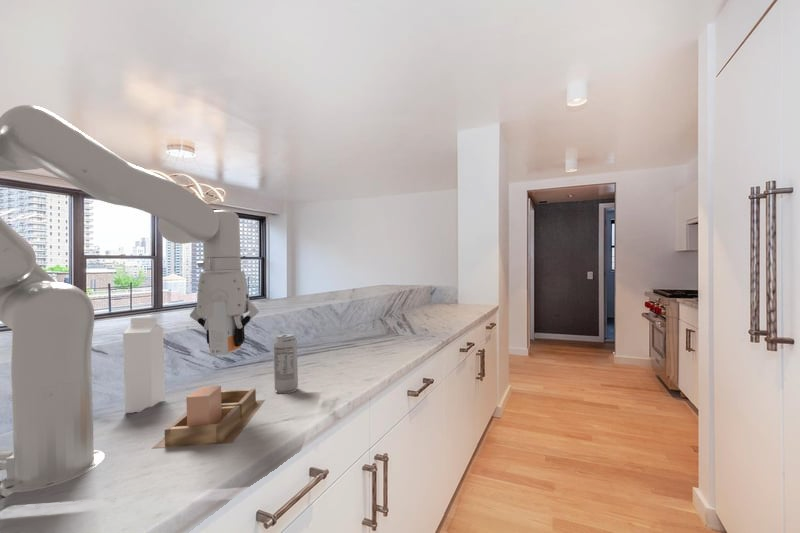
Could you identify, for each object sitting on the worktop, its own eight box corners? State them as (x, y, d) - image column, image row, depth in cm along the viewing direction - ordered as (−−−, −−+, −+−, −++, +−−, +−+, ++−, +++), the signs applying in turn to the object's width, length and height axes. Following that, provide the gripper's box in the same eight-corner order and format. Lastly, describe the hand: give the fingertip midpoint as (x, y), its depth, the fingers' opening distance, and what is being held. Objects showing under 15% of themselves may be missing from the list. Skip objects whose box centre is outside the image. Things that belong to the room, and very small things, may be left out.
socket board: (151, 454, 66) (151, 431, 66) (204, 408, 88) (204, 391, 88) (232, 449, 68) (232, 426, 68) (265, 404, 90) (264, 387, 90)
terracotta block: (187, 439, 69) (186, 397, 69) (201, 426, 75) (200, 387, 75) (209, 438, 70) (208, 395, 70) (221, 424, 76) (220, 385, 76)
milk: (151, 412, 87) (149, 318, 87) (124, 413, 87) (122, 319, 87) (165, 402, 93) (163, 315, 93) (140, 404, 93) (137, 316, 93)
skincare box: (227, 355, 80) (224, 300, 80) (209, 355, 81) (206, 301, 81) (242, 348, 86) (239, 297, 86) (225, 349, 87) (222, 298, 87)
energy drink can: (301, 387, 103) (299, 333, 103) (292, 394, 97) (291, 337, 97) (280, 387, 103) (279, 333, 103) (270, 394, 97) (269, 337, 97)
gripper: (174, 267, 79) (178, 352, 79) (256, 264, 81) (260, 347, 81) (191, 267, 87) (194, 344, 87) (266, 264, 88) (269, 340, 88)
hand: (226, 345), depth 84 cm, fingers closed on skincare box, 5 cm apart
